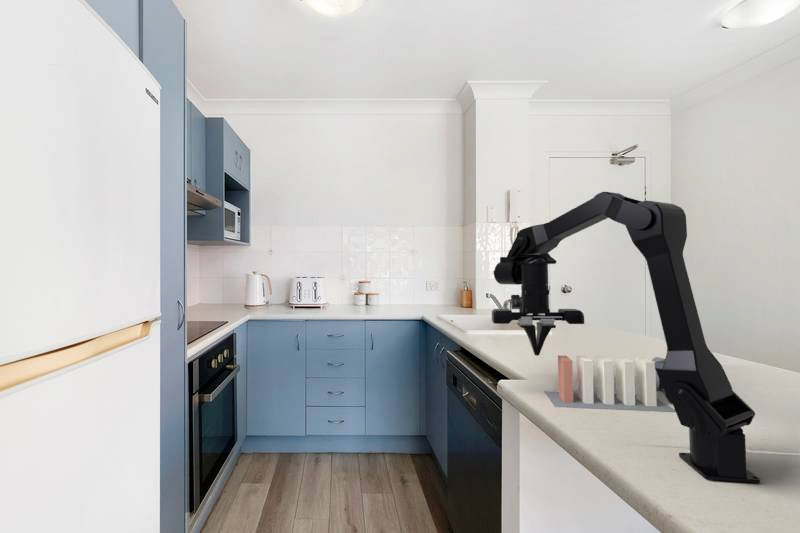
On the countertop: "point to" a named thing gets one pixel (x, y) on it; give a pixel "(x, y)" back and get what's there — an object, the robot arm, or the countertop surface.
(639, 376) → the domino
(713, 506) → the countertop surface
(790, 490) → the countertop surface
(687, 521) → the countertop surface
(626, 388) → the domino
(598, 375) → the domino
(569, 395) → the domino
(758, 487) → the countertop surface
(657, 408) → the slate mat
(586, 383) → the domino
